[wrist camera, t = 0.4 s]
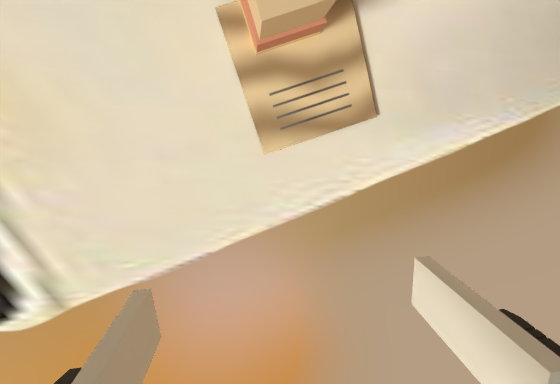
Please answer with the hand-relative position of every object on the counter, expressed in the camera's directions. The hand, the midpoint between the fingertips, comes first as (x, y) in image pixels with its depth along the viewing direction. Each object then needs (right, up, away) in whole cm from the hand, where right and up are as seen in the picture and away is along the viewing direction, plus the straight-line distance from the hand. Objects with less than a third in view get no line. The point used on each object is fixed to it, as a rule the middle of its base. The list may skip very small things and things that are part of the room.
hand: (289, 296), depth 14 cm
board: (+2, +21, +22) cm, 30 cm away
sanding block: (0, +26, +19) cm, 33 cm away
